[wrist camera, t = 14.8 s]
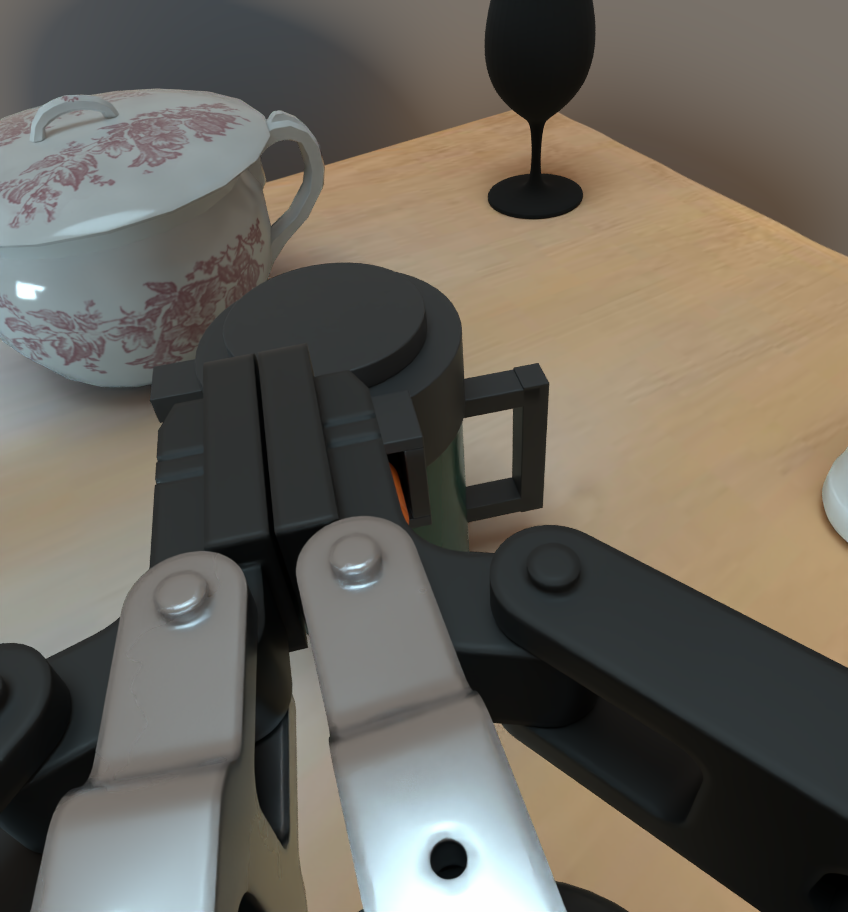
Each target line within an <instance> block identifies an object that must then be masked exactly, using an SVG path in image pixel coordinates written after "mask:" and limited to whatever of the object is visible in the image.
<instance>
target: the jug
mask: <svg viewBox="0 0 848 912" xmlns="http://www.w3.org/2000/svg"><path fill="white" fill-rule="evenodd" d="M303 343H307V345H308V349H309V354H310V358H311V362H312V367H313V371H314V376H319V375H324V374H329V373H334V372H339V371H344V370H350V371H351V372H352V373H353V374H354V375H355V376H356V377H357V378H358V379H359V380H361V381H362V382H363V383H364V384H365V385H366V386H367V387H368V388H369V391H370V395H371V398H372V402H373V406H374V409H375V413H376V418H377V421H378V424H379V428H380V432H381V436H382V439H383V443H384V447H385V450H386V454H387V458H388V461H389V463H391V464H392V465H393V466H394V468H395V469H396V471H397V473H398V476H399V480H400V483H401V487H402V491H403V495H404V499H405V503H406V507H407V510H408V514H409V526H410V527H411V528H412V530H413V531H414V532H415V533H416V534H418V535H419V536H420V537H422V538H423V539H424V540H426V541H428V542H430V543H432V544H434V545H437V546H439V547H442V548H446V549H450V550H456V551H465V552H469V540H468V522H472V521H476V520H481V519H486V518H491V517H496V516H500V515H505V514H510V513H515V512H525V511H530V510H534V509H539V508H543V491H544V472H545V453H546V434H547V415H548V396H549V382H548V380H547V378H546V376H545V374H544V373H543V371H542V369H541V367H540V365H539V363H536V364H531V365H525V366H520V367H515V368H513V370H509V371H503V372H498V373H493V374H488V375H482V376H477V377H472V378H467V379H464V365H463V344H462V327H461V321H460V318H459V315H458V313H457V311H456V309H455V307H454V306H453V304H452V303H451V302H450V301H449V299H448V298H447V297H446V296H445V295H444V294H442V293H441V292H440V291H439V290H438V289H436V288H435V287H433V286H431V285H430V284H428V283H426V282H424V281H422V280H419V279H417V278H415V277H412V276H409V275H406V274H402V273H398V272H394V271H392V270H389V269H386V268H383V267H379V266H374V265H369V264H362V263H328V264H320V265H313V266H308V267H304V268H300V269H296V270H292V271H289V272H286V273H283V274H281V275H278V276H276V277H273V278H271V279H269V280H267V281H265V282H263V283H261V284H259V285H258V286H256V287H255V288H253V289H252V290H250V291H249V292H248V293H246V294H245V295H244V296H243V297H242V298H240V299H239V300H237V301H236V302H234V303H233V304H231V305H230V306H229V307H228V308H226V309H225V310H224V311H223V312H221V313H220V314H219V315H218V316H217V317H216V318H215V319H214V320H213V322H212V323H211V324H210V325H209V327H208V328H207V329H206V330H205V332H204V334H203V336H202V337H201V339H200V341H199V344H198V347H197V350H196V356H195V359H193V360H188V361H182V362H177V363H171V364H166V365H160V366H155V367H153V375H152V385H151V396H150V401H151V404H152V406H153V408H154V411H155V413H156V415H157V418H158V420H159V422H160V423H162V422H164V420H165V419H166V417H167V415H168V414H169V412H170V411H171V409H172V407H173V406H174V404H177V403H182V402H187V401H192V400H197V399H202V398H203V364H204V363H205V362H210V361H215V360H220V359H226V358H231V357H236V356H241V355H247V354H252V353H254V354H255V355H256V358H257V360H258V352H261V351H267V350H272V349H277V348H282V347H288V346H293V345H298V344H303ZM508 409H513V460H512V478H507V479H502V480H497V481H492V482H487V483H482V484H477V485H472V486H468V487H466V483H465V464H464V445H463V426H462V421H463V418H467V417H472V416H477V415H483V414H488V413H493V412H498V411H503V410H508ZM305 628H306V633H307V634H309V633H308V630H307V627H306V624H305Z"/></svg>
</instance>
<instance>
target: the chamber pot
mask: <svg viewBox="0 0 848 912" xmlns="http://www.w3.org/2000/svg"><path fill="white" fill-rule="evenodd" d="M284 140H292V141H296V142H297V144H298V146H299V148H300V150H301V154H302V158H303V161H304V177H303V183H302V185H301V187H300V189H299V191H298V192H297V194H296V196H295V198H294V200H293V202H292V204H291V206H290V208H289V209H288V210H287V211H286V212H285V213H284V214H283V215H282V216H281V217H280V218H279V219H278V220H277V221H276V222H275V223H274V224H273V225H272V226H271V224H270V220H269V215H268V211H267V207H266V202H265V198H264V194H263V188H264V185H265V183H266V177H265V174H264V170H263V167H262V164H261V154H262V153H263V152H264V151H265V150H266V148H267V147H269V146H270V145H272V144H274V143H275V142H277V141H284ZM324 171H325V164H324V161H323V157H322V153H321V149H320V146H319V143H318V141H317V140H316V138H315V137H314V136H313V134H312V133H311V132H310V130H309V129H308V128H307V126H306V125H305V124H304V123H302V122H301V121H300V120H299V119H298V118H296V117H295V116H293V115H290V114H288V113H285V112H283V111H274V112H272V113H271V115H270V116H269V118H268V119H267V120H266V119H265V117H264V116H263V115H262V114H261V113H259V112H258V111H257V110H255V109H254V108H252V107H250V106H249V105H248V104H246V103H244V102H243V101H242V100H240V99H236V98H232V97H228V96H224V95H220V94H215V93H212V92H206V91H189V90H173V89H143V90H127V91H114V92H108V93H101V94H95V95H80V94H79V95H65V96H62V97H59V98H57V99H54V100H51V101H50V102H48V103H47V104H45V105H43V106H39V107H35V108H31V109H27V110H24V111H21V112H19V113H16V114H13V115H10V116H7V117H5V118H2V119H0V339H1V340H2V341H3V342H4V343H6V344H7V345H9V346H10V347H12V348H13V349H15V350H16V351H18V352H19V353H21V354H22V355H24V356H25V357H27V358H29V359H31V360H33V361H34V362H36V363H38V364H40V365H42V366H44V367H46V368H48V369H50V370H52V371H54V372H55V373H57V374H59V375H61V376H63V377H65V378H67V379H69V380H74V381H78V382H82V383H87V384H91V385H96V386H100V387H105V388H117V387H140V386H145V385H150V384H152V375H153V367H155V366H160V365H166V364H171V363H177V362H182V361H188V360H193V359H195V356H196V350H197V347H198V344H199V341H200V339H201V337H202V336H203V334H204V332H205V330H206V329H207V328H208V327H209V325H210V324H211V323H212V322H213V320H214V319H215V318H216V317H217V316H218V315H219V314H220V313H221V312H223V311H224V310H225V309H226V308H228V307H229V306H230V305H231V304H233V303H234V302H236V301H237V300H239V299H240V298H242V297H243V296H244V295H245V294H246V293H248V292H249V291H250V290H252V289H253V288H255V287H256V286H258V285H259V284H261V283H263V282H265V281H267V279H268V276H269V274H270V271H271V269H272V265H273V263H274V261H275V260H276V258H277V256H278V255H279V253H280V252H281V250H282V248H283V247H284V245H285V244H286V242H287V241H288V240H289V239H290V238H291V236H292V235H293V234H294V233H295V232H296V231H297V230H298V228H299V227H300V226H301V225H302V224H303V223H304V221H305V220H306V219H307V218H308V216H309V215H310V213H311V210H312V208H313V206H314V204H315V202H316V200H317V198H318V196H319V194H320V192H321V190H322V188H323V185H324Z"/></svg>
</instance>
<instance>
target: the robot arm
mask: <svg viewBox="0 0 848 912" xmlns="http://www.w3.org/2000/svg"><path fill="white" fill-rule="evenodd" d="M157 460H158V462H157V463H156V476H155V480H156V485H155V491H154V507H153V523H152V539H151V555H150V568H149V570H148V571H147V572H146V573H145V574H143V575H142V576H141V577H140V578H139V579H138V581H137V582H136V583H135V584H134V585H133V587H132V588H131V590H130V591H129V592H128V594H127V596H126V599H125V601H124V604H123V607H122V611H121V616H120V618H118V619H117V620H116V621H115V622H113V623H112V624H111V625H109V626H108V627H106V628H105V629H103V630H101V631H100V632H98V633H96V634H94V635H93V636H91V637H89V638H87V639H85V640H83V641H81V642H79V643H77V644H75V645H73V646H71V647H69V648H67V649H65V650H63V651H61V652H59V653H57V654H55V655H53V656H51V657H49V658H47V659H45V658H44V657H43V656H42V654H41V653H40V652H38V651H37V650H35V649H34V648H32V647H29V646H27V645H24V644H17V643H2V644H0V912H308V909H307V900H306V893H305V887H304V882H303V878H302V874H301V868H300V860H299V848H298V801H297V747H296V707H295V701H294V698H293V695H292V677H291V667H290V657H289V652H292V651H296V650H301V649H305V648H308V644H307V636H306V628H305V624H306V627H307V630H308V633H309V637H310V642H311V646H312V651H313V656H314V660H315V665H316V669H317V674H318V679H319V683H320V688H321V692H322V697H323V702H324V706H325V711H326V715H327V720H328V725H329V731H330V737H329V745H330V752H331V758H332V763H333V768H334V773H335V777H336V782H337V787H338V792H339V796H340V801H341V806H342V810H343V815H344V820H345V824H346V829H347V834H348V838H349V843H350V848H351V852H352V857H353V862H354V867H355V871H356V876H357V881H358V885H359V890H360V895H361V899H362V904H363V909H362V910H360V911H359V912H629V911H627V910H625V909H624V908H622V907H621V906H619V905H618V904H616V903H614V902H612V901H610V900H608V899H606V898H604V897H601V896H599V895H597V894H595V893H593V892H591V891H588V890H585V889H582V888H579V887H576V886H573V885H570V884H567V883H563V882H557V881H555V880H554V878H553V875H552V872H551V870H550V867H549V865H548V862H547V860H546V857H545V855H544V852H543V849H542V847H541V844H540V842H539V839H538V837H537V834H536V832H535V829H534V826H533V824H532V821H531V819H530V816H529V814H528V811H527V809H526V806H525V803H524V801H523V798H522V796H521V793H520V791H519V788H518V786H517V783H516V780H515V778H514V775H513V773H512V770H511V768H510V765H509V763H508V760H507V757H506V755H505V752H504V750H503V747H502V745H501V742H500V739H499V737H498V734H497V732H496V729H495V727H494V724H493V723H501V724H502V725H503V727H504V728H505V729H506V730H507V731H508V732H509V733H510V734H511V735H512V736H514V737H515V738H516V739H517V740H519V741H520V742H522V743H523V744H525V745H526V746H527V747H529V748H530V749H532V750H533V751H534V752H536V753H537V754H539V755H540V756H542V757H543V758H544V759H546V760H547V761H549V762H550V763H551V764H553V765H554V766H556V767H557V768H558V769H560V770H561V771H563V772H564V773H566V774H567V775H568V776H570V777H571V778H573V779H574V780H575V781H577V782H578V783H580V784H581V785H583V786H584V787H585V788H587V789H588V790H590V791H591V792H592V793H594V794H595V795H597V796H598V797H599V798H601V799H602V800H604V801H605V802H607V803H608V804H609V805H611V806H612V807H614V808H615V809H616V810H618V811H619V812H621V813H622V814H623V815H625V816H626V817H628V818H629V819H631V820H632V821H633V822H635V823H636V824H638V825H639V826H640V827H642V828H643V829H645V830H646V831H648V832H649V833H650V834H652V835H653V836H655V837H656V838H657V839H659V840H660V841H662V842H663V843H664V844H666V845H667V846H669V847H670V848H672V849H673V850H674V851H676V852H677V853H679V854H680V855H681V856H683V857H684V858H686V859H687V860H689V861H690V862H691V863H693V864H694V865H696V866H697V867H698V868H700V869H701V870H703V871H704V872H705V873H707V874H708V875H710V876H711V877H713V878H714V879H715V880H717V881H718V882H720V883H721V884H722V885H724V886H725V887H727V888H728V889H729V890H731V891H732V892H734V893H735V894H737V895H738V896H739V897H741V898H742V899H744V900H745V901H746V902H748V903H749V904H751V905H752V906H754V907H755V908H756V909H758V910H759V911H761V912H848V668H847V667H845V666H843V665H841V664H839V663H837V662H835V661H833V660H831V659H829V658H827V657H825V656H824V655H822V654H820V653H818V652H816V651H814V650H812V649H810V648H808V647H806V646H804V645H802V644H800V643H798V642H796V641H794V640H792V639H790V638H788V637H786V636H785V635H783V634H781V633H779V632H777V631H775V630H773V629H771V628H769V627H767V626H765V625H763V624H761V623H759V622H757V621H755V620H753V619H751V618H749V617H748V616H746V615H744V614H742V613H740V612H738V611H736V610H734V609H732V608H730V607H728V606H726V605H724V604H722V603H720V602H718V601H716V600H714V599H712V598H710V597H709V596H707V595H705V594H703V593H701V592H699V591H697V590H695V589H693V588H691V587H689V586H687V585H685V584H683V583H681V582H679V581H677V580H675V579H673V578H671V577H670V576H668V575H666V574H664V573H662V572H660V571H658V570H656V569H654V568H652V567H650V566H648V565H646V564H644V563H642V562H640V561H638V560H636V559H634V558H632V557H631V556H629V555H627V554H625V553H623V552H621V551H619V550H617V549H615V548H613V547H611V546H609V545H607V544H605V543H603V542H601V541H599V540H597V539H595V538H594V537H592V536H590V535H588V534H586V533H583V532H581V531H579V530H576V529H573V528H569V527H565V526H558V525H542V526H534V527H531V528H527V529H524V530H522V531H519V532H517V533H515V534H513V535H512V536H510V537H509V538H507V539H506V540H505V541H504V542H503V543H502V544H501V545H500V546H499V548H498V549H497V550H496V552H495V553H483V552H465V551H456V550H450V549H446V548H442V547H439V546H437V545H434V544H432V543H430V542H428V541H426V540H424V539H423V538H422V537H420V536H419V535H418V534H416V533H415V532H414V531H413V530H412V528H411V527H410V526H409V525H408V523H407V522H406V520H405V518H404V515H403V513H402V510H401V506H400V502H399V499H398V495H397V491H396V487H395V484H394V480H393V476H392V473H391V469H390V465H389V461H388V458H387V454H386V450H385V447H384V443H383V439H382V436H381V432H380V428H379V424H378V421H377V418H376V413H375V409H374V406H373V402H372V398H371V395H370V391H369V388H368V387H367V386H366V385H365V384H364V383H363V382H362V381H361V380H359V379H358V378H357V377H356V376H355V375H354V374H353V373H352V372H351V371H350V370H344V371H339V372H334V373H329V374H324V375H319V376H314V371H313V367H312V362H311V358H310V354H309V349H308V345H307V343H303V344H298V345H293V346H288V347H282V348H277V349H272V350H267V351H261V352H258V360H257V358H256V355H255V354H254V353H252V354H247V355H241V356H236V357H231V358H226V359H220V360H215V361H210V362H205V363H204V364H203V398H202V399H197V400H192V401H187V402H182V403H177V404H174V406H173V407H172V409H171V411H170V412H169V414H168V415H167V417H166V419H165V420H164V422H163V424H162V425H161V427H160V428H159V430H158V444H157Z"/></svg>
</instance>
